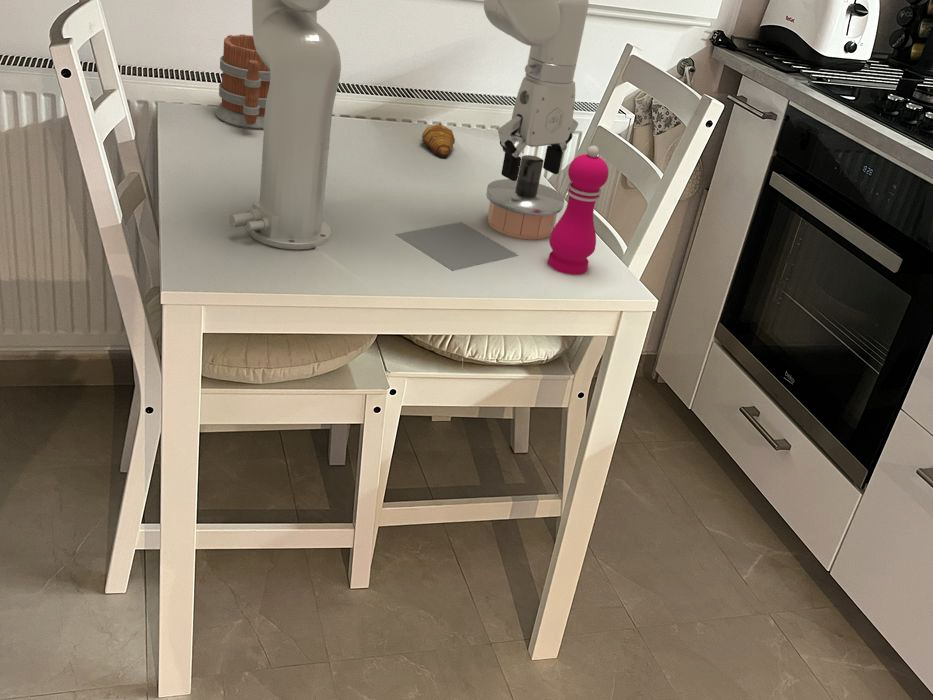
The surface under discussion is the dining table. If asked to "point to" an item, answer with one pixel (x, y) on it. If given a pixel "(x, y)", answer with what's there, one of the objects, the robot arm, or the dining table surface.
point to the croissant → (439, 139)
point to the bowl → (520, 223)
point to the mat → (456, 245)
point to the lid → (526, 191)
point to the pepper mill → (578, 215)
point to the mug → (243, 84)
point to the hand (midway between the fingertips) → (530, 174)
